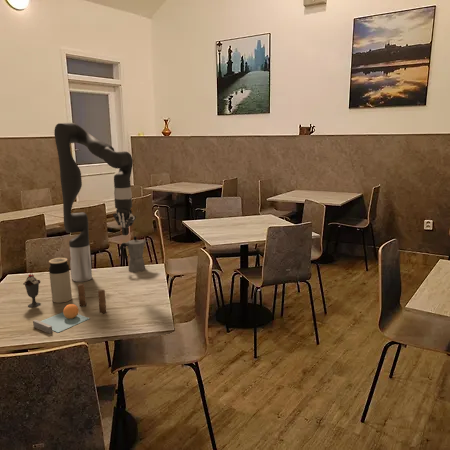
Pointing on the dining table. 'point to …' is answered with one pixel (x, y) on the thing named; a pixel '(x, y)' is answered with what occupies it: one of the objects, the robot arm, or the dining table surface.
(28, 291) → the sundae
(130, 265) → the coffeepot
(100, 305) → the post outer
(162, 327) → the dining table surface
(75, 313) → the ball
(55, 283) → the travel mug
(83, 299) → the post inner
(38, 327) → the wall
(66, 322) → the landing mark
